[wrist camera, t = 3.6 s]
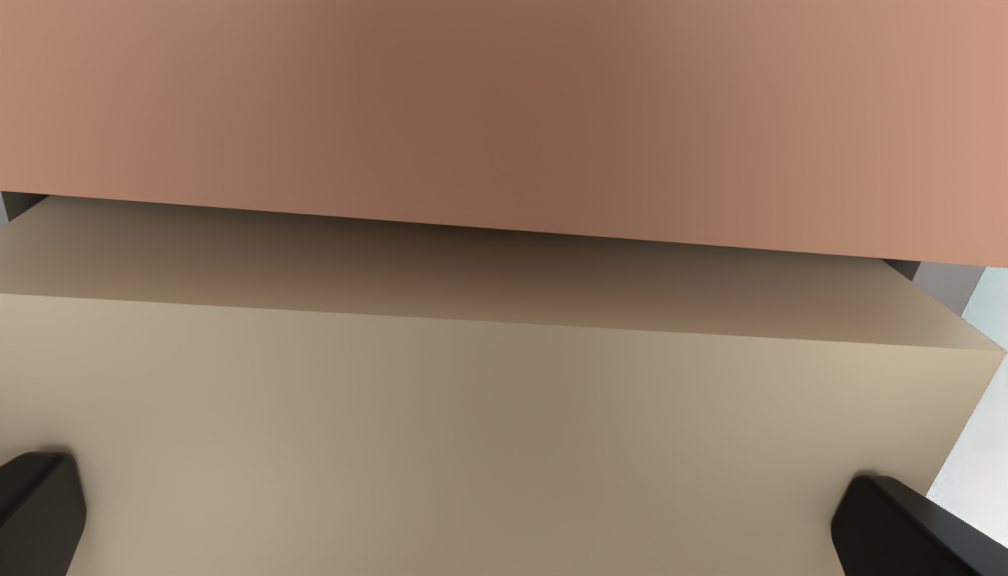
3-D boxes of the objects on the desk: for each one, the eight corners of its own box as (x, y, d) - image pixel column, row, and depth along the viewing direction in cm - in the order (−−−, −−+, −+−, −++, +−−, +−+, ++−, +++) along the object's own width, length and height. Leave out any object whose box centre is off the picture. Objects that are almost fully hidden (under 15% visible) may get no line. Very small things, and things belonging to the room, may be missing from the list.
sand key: (110, 478, 10) (23, 621, 8) (50, 194, 8) (-91, 288, 6) (779, 493, 11) (855, 618, 9) (879, 258, 9) (1007, 351, 7)
